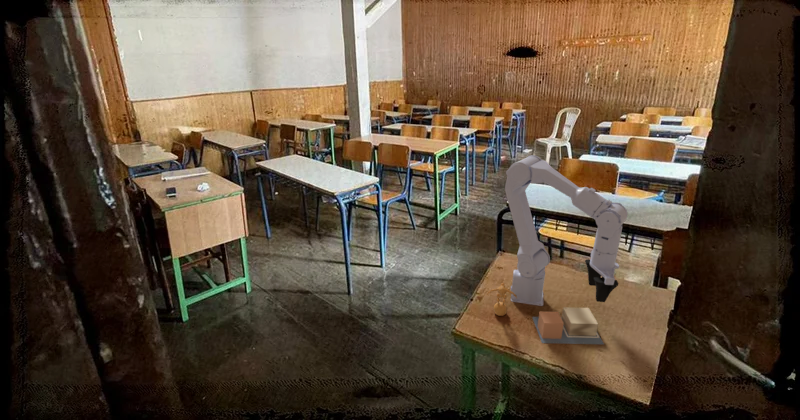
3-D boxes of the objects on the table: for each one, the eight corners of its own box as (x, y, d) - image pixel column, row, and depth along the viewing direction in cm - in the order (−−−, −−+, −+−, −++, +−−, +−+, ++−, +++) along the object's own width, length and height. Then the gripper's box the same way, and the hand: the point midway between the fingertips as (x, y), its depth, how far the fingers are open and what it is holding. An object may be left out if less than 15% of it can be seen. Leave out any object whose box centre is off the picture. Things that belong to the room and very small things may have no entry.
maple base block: (569, 335, 112) (571, 323, 110) (561, 319, 118) (563, 307, 117) (595, 335, 111) (598, 323, 110) (586, 319, 118) (588, 307, 116)
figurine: (514, 312, 122) (518, 277, 118) (514, 325, 117) (518, 289, 112) (485, 308, 124) (488, 274, 119) (484, 321, 119) (487, 285, 114)
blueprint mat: (541, 344, 110) (542, 342, 109) (531, 317, 120) (532, 316, 119) (604, 345, 109) (604, 344, 108) (588, 318, 119) (589, 317, 119)
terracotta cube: (542, 338, 111) (544, 323, 109) (537, 326, 116) (539, 311, 114) (561, 338, 111) (563, 323, 109) (555, 326, 115) (558, 311, 113)
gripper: (631, 264, 101) (620, 310, 106) (613, 237, 114) (604, 279, 119) (600, 262, 102) (591, 307, 107) (586, 235, 115) (578, 277, 120)
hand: (596, 292), depth 113 cm, fingers open, 7 cm apart
